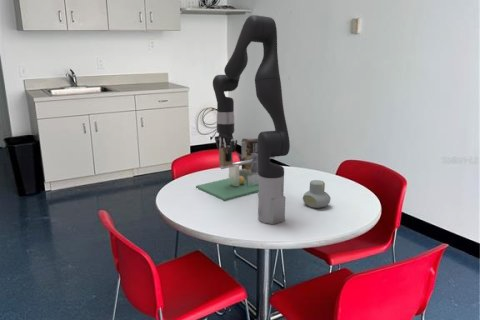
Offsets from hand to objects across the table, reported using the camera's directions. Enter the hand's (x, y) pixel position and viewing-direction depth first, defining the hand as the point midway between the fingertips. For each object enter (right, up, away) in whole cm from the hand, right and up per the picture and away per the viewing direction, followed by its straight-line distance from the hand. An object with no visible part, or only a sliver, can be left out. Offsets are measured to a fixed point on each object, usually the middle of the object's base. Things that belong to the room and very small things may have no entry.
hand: (225, 160), depth 188 cm
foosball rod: (+10, -10, +11) cm, 18 cm away
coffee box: (+12, -5, +35) cm, 37 cm away
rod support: (+14, -10, +14) cm, 23 cm away
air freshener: (+37, -18, -15) cm, 44 cm away
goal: (+9, -10, +10) cm, 17 cm away
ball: (+6, -9, +8) cm, 13 cm away
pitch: (+2, -13, +5) cm, 14 cm away
